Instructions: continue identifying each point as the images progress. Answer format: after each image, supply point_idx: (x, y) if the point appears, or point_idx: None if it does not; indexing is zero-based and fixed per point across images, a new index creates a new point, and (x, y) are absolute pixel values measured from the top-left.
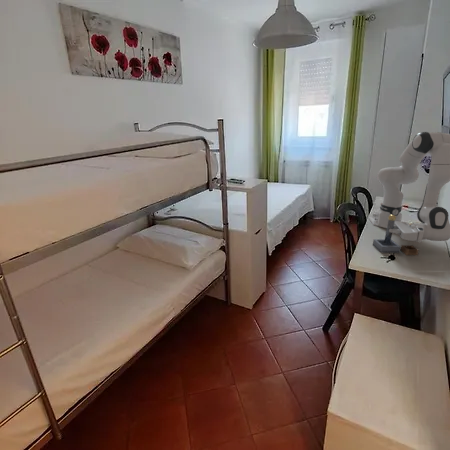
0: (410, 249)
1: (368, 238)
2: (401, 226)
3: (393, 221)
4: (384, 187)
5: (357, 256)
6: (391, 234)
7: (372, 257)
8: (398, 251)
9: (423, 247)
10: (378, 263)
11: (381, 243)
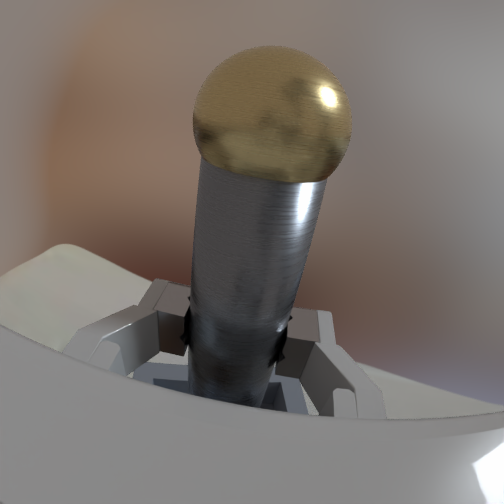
0: None
1: (405, 405)
2: (221, 473)
3: (199, 176)
4: None
5: (120, 272)
6: (191, 391)
7: (91, 319)
8: None
9: None
10: (29, 310)
11: None
